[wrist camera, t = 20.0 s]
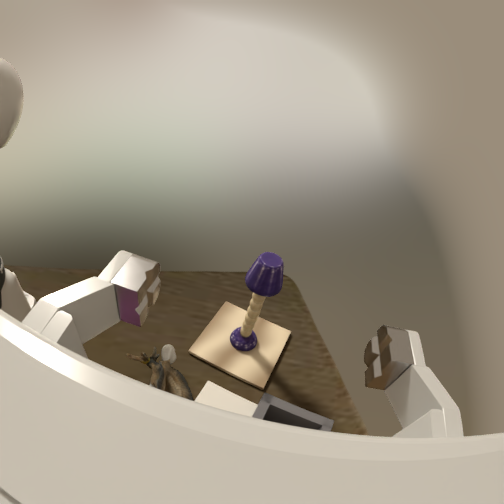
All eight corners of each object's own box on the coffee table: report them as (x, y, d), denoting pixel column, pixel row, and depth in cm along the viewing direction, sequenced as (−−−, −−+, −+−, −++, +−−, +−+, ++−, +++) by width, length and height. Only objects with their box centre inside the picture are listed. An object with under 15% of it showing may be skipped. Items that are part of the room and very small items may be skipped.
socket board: (137, 486, 25) (130, 480, 21) (207, 385, 38) (210, 366, 35) (293, 553, 20) (310, 556, 17) (338, 442, 34) (356, 428, 31)
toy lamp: (264, 338, 46) (295, 256, 36) (251, 359, 43) (281, 277, 33) (237, 325, 47) (259, 240, 37) (223, 345, 44) (242, 259, 34)
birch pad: (188, 352, 42) (188, 350, 42) (225, 303, 51) (226, 301, 51) (262, 390, 39) (263, 388, 39) (289, 333, 49) (290, 331, 48)
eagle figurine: (116, 375, 35) (144, 426, 29) (133, 335, 34) (166, 386, 29) (160, 377, 41) (192, 421, 35) (180, 340, 40) (216, 384, 34)
